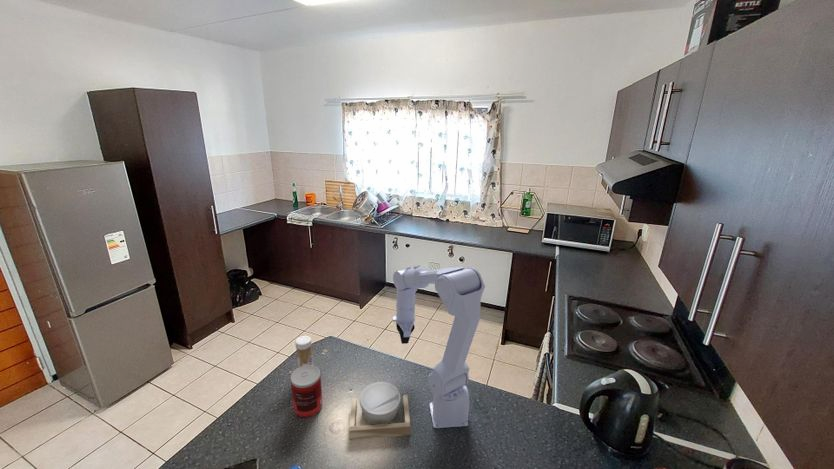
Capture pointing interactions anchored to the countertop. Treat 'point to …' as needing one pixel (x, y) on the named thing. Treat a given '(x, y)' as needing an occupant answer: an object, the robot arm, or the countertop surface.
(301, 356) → the sprinkles bottle
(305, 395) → the canned food
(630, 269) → the countertop surface
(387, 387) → the ramekin
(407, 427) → the birch dock
